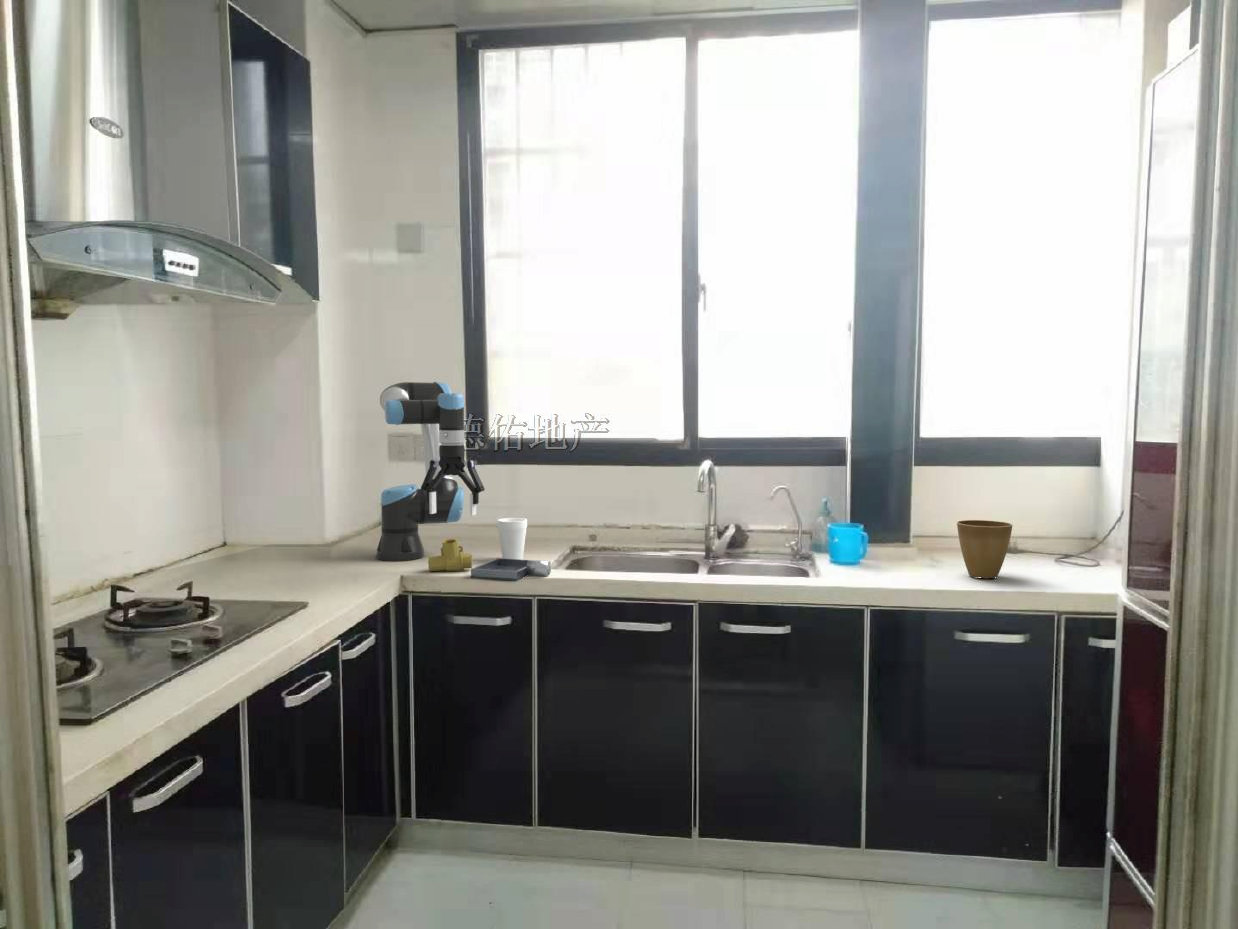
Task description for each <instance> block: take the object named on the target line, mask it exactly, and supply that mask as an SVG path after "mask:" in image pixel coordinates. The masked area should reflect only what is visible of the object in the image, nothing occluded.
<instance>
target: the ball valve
mask: <svg viewBox="0 0 1238 929" xmlns="http://www.w3.org/2000/svg"><path fill="white" fill-rule="evenodd" d="M458 542H459V541H458V539H457V538H456V539H455V538H446V539H445V540H442V542H441V543H442V544H441V545H442V546H441V548H440V555H435V556H428V560H427V561H428V562H427V564H428V571H429V572H438V571H439V572H440V571H446V572H447V571H448V572H457V571H456V570H460V572H464V571H465V569H466V570H467V569H472V568H473V560H472V559H473V557H472V552H468V553H466V552H465V553H464V549H463V547H464V546H463V545H459V543H458ZM463 570H464V571H463Z"/></svg>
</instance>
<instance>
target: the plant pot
mask: <svg viewBox="0 0 1238 929" xmlns="http://www.w3.org/2000/svg"><path fill="white" fill-rule="evenodd" d="M1013 526H1014V525H1013V523H1010V522H1005V521H998V520H997V521H996V520H980V519H966V520H965V519H963V520H958V521H956V527H957V533H958V535H957V536H958V540H959V545H960V550H961V553H962V557H963V562H964V564H965V567H966V570H967V573H968V576H969V575H970V576H972V577H971V578H973V577H981V578H995V577H997V578H998V576H999V574H1000V572H1001V569H1002V567H1003V564H1004V562H1005V560H1006V556H1007V552H1008V549H1009V546H1010V545H1009V544H1010V541H1011V536H1012V530H1013ZM970 576H969V577H970Z"/></svg>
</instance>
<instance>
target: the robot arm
mask: <svg viewBox="0 0 1238 929" xmlns="http://www.w3.org/2000/svg"><path fill="white" fill-rule="evenodd" d="M379 397H380V398H379V404H380V407H381V408H382V410H383V411H384V418H385V423H387V425H396V426H399V425H421V438H422V447H423V458H424V467H425V469H424V470H425V477H424V479H423V482H422V483H421V487H420V488H419V487H418V485H417V484H403V485H396V486H392V487H388V488H386V489H384V490H382V492H381V495H380V510H381V511H380V517H381V518H380V520H381V525H380V526H381V535H380V538H379V542H378V544H377V548H376V559H377V560H380V561H386V562H387V561H388V562H389V561H390V562H399V561H400V562H401V561H402V562H403V561H413V560H417V559H418V560H419V559H421V558H423V557H425V548H424V545H423V542H422V540H421V537H420V534H419V525H429V524H450V523H457V522H459V521H460V520H461V518H462V515H463V511H464V510H463V509H464V500H465V498H464V496H465V495H464V493H465V492H464V487H461V486H458V485H459V484H458V482H457V480H456V479H455V478H453V476H458V477H459V478H460V479H461V480H462V481H463V483H464V485H465V486H466V487H467V488H468V489H469V491H470V492H471V493H469V516H476V515H477V505H478V504H479V501H480V500H479V498H480V497H479V494H480V493H481V492H484V491H485V487H484V484H483V482H482V480H481V478H480V476H479V474H478V472H477V469H476V466H475V465H476V464H475V460H473V459H472V460H467V461H465V456H466V455H465V452H466V451H465V447H466V446H465V445H464V443H465V403H464V402H465V401H464V399H465V398H464V395H463V394H462V393H460V392H459V393H458V392H455V393H453V392H452V391H451V388H450V386H449V385H448V384H447V383H445V382H438V381H433V382H420V381H419V382H415V381H414V382H413V381H412V382H410V381H409V382H407V381H404V382H398V383H394V384H391V385H389V386H388V387H386V388H384V390H383V391H382V392H381V394H380V396H379ZM465 467H466V469H467V470H468V472H467V471H466V470H465ZM467 473H469V475H470V476H469V475H468V474H467Z"/></svg>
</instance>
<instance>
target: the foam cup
mask: <svg viewBox="0 0 1238 929" xmlns="http://www.w3.org/2000/svg"><path fill="white" fill-rule="evenodd" d="M496 523H497V529H498V534H499V543H500V550H501V551H500V552H501V556H502V557H501V558H505V559H521V560H522V559H523V560H524V552H525V543H526V534H527V528H528V519H527V518H523V517H505V518H504V517H503V518H498V519H497V521H496Z"/></svg>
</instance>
